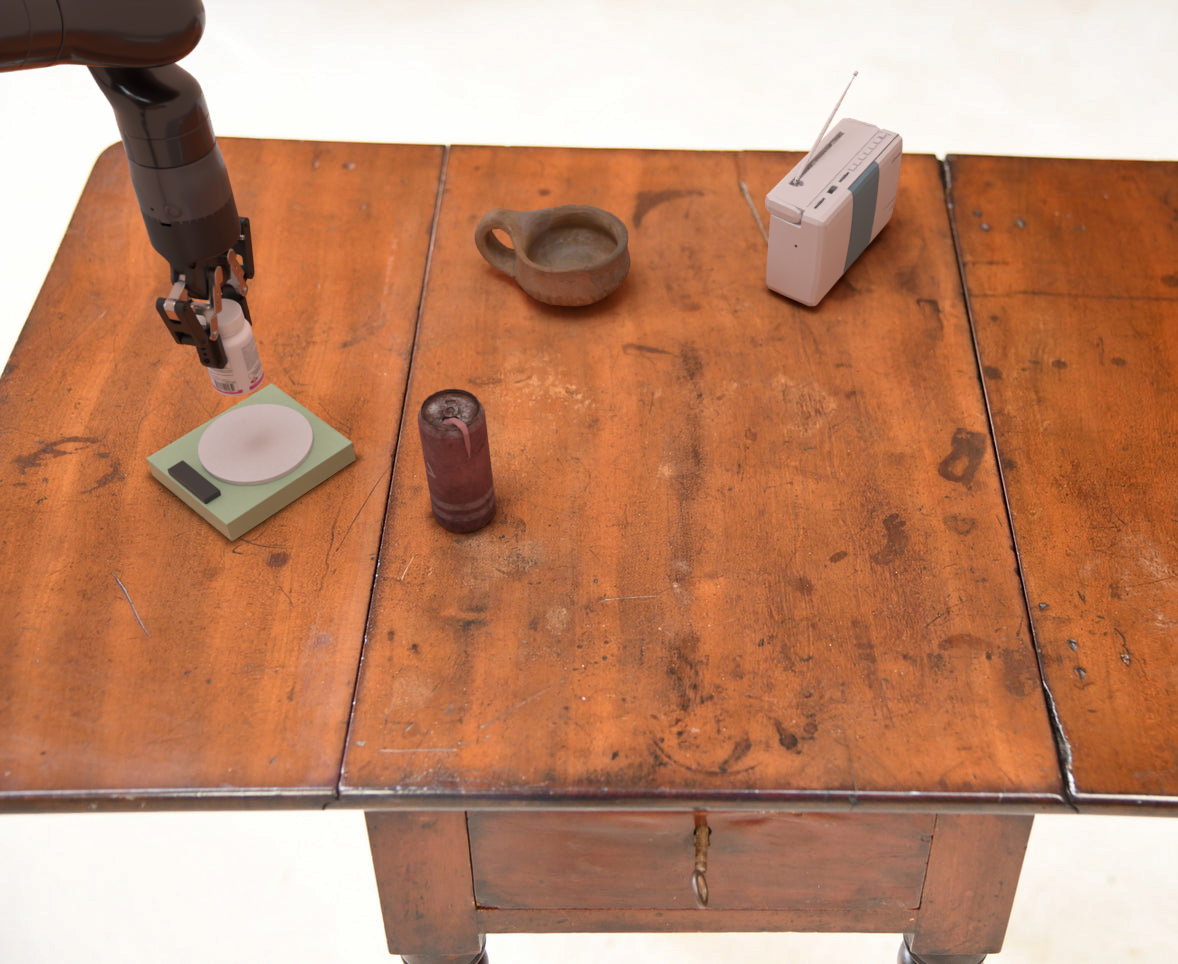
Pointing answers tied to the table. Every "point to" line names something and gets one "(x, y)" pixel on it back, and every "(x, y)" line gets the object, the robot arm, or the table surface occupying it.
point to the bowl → (558, 251)
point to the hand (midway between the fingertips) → (228, 346)
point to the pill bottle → (236, 353)
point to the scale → (251, 460)
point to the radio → (831, 207)
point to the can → (457, 459)
